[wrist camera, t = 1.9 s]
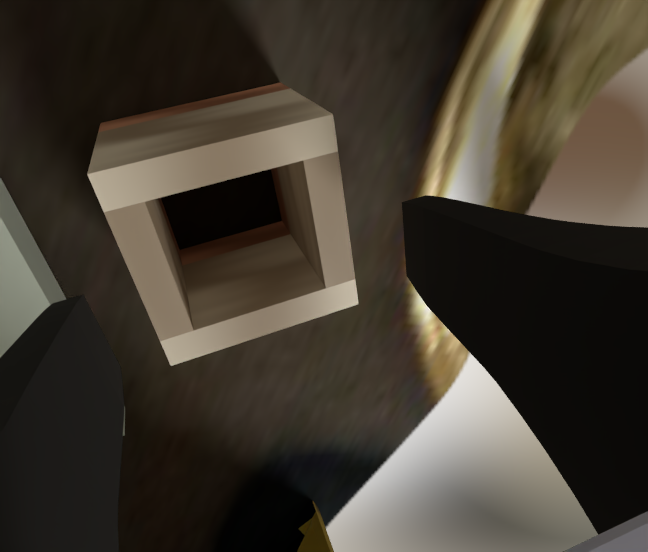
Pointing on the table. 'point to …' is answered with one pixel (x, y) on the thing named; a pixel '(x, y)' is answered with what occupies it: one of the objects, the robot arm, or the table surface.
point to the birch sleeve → (239, 249)
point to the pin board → (21, 276)
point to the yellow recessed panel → (315, 535)
